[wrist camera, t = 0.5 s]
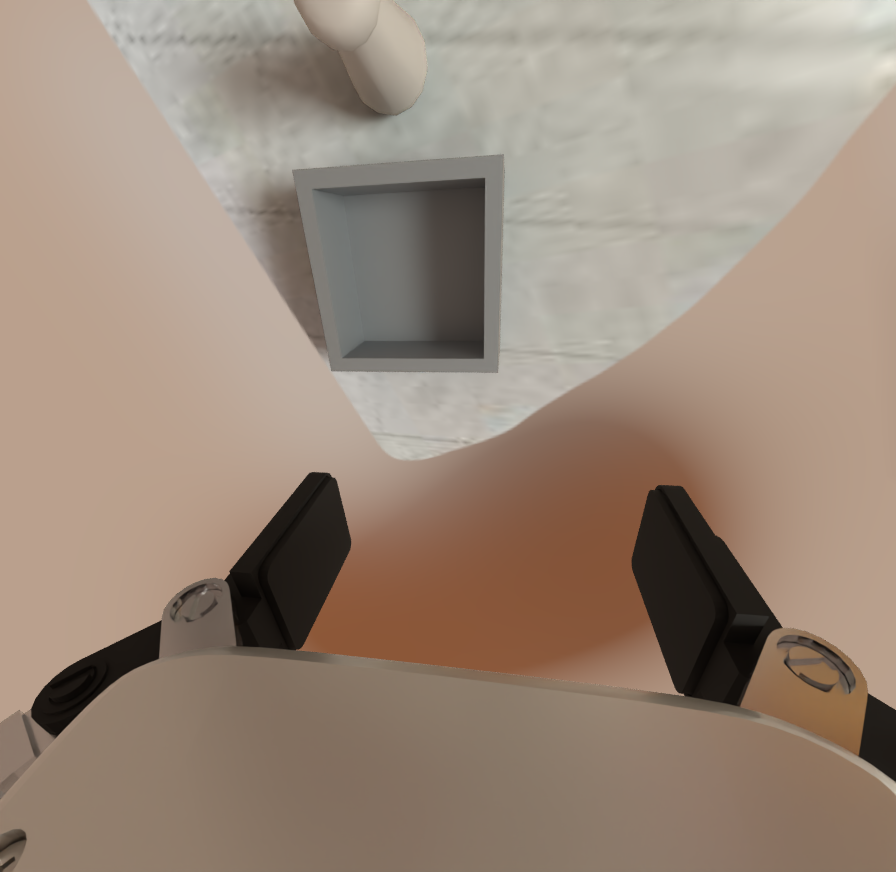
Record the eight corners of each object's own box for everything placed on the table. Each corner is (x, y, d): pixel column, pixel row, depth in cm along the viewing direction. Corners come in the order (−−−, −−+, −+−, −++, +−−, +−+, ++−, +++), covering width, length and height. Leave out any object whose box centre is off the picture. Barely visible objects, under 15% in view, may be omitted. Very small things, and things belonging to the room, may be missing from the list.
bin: (332, 181, 33) (292, 170, 27) (504, 169, 31) (503, 154, 25) (358, 350, 40) (331, 371, 34) (499, 349, 38) (498, 372, 32)
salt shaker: (378, 135, 31) (302, 80, 20) (347, 47, 28) (241, -75, 17) (443, 101, 29) (402, 19, 18) (416, 4, 27) (350, -161, 16)
